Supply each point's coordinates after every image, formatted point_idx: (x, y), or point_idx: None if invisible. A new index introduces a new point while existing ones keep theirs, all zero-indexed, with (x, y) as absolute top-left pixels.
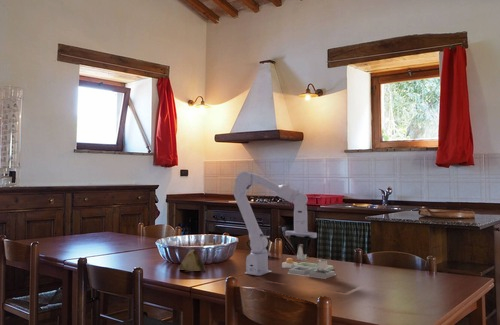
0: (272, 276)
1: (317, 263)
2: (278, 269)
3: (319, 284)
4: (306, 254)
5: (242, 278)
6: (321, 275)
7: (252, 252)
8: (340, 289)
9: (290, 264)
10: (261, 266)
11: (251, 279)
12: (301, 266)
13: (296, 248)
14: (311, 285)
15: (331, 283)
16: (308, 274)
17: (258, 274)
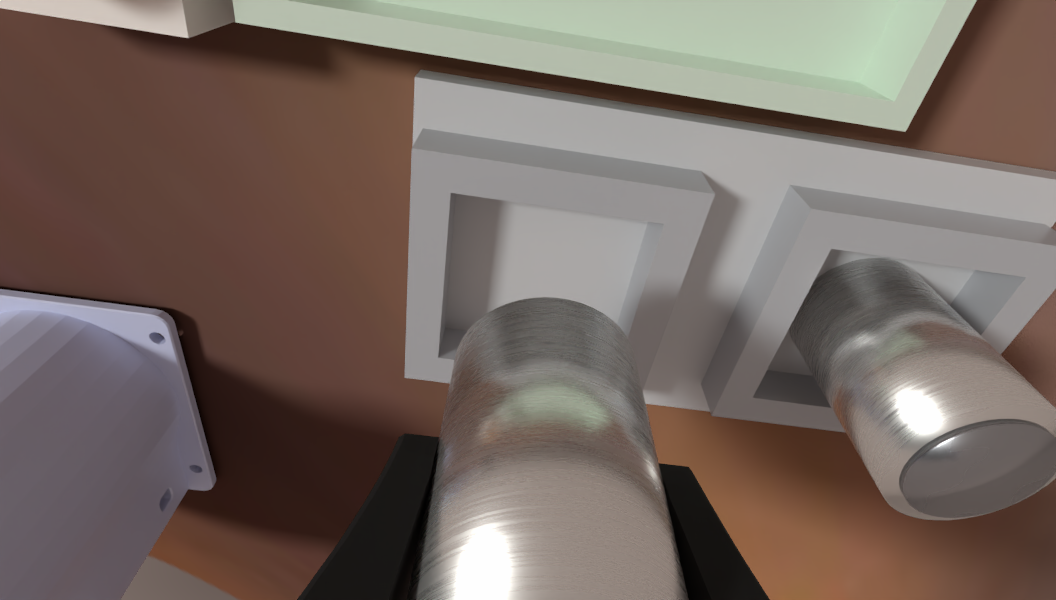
0: (323, 447)
1: (867, 469)
2: (60, 91)
3: (834, 521)
4: (650, 428)
5: (182, 562)
6: None
7: None
8: (1007, 572)
9: (174, 34)
10: (134, 507)
11: (263, 563)
12: (429, 50)
13: (408, 588)
14: (771, 556)
15: None
16: (672, 336)
17: (199, 487)
